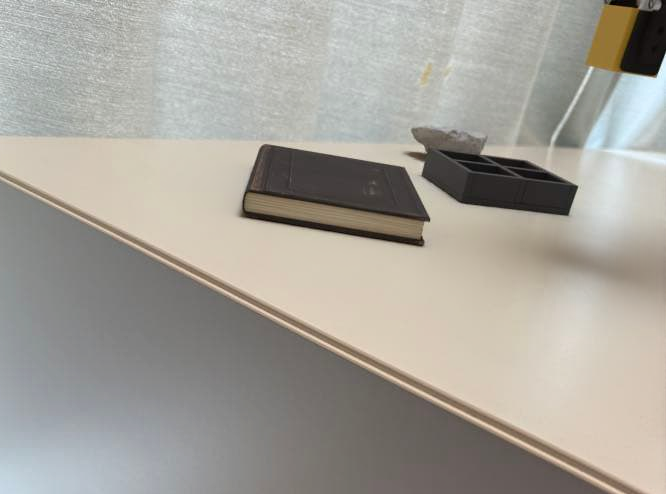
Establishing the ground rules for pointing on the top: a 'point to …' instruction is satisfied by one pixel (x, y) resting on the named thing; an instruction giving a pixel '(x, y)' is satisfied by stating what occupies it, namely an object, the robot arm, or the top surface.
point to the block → (612, 38)
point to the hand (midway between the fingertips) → (621, 66)
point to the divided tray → (498, 181)
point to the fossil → (450, 139)
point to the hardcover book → (334, 194)
